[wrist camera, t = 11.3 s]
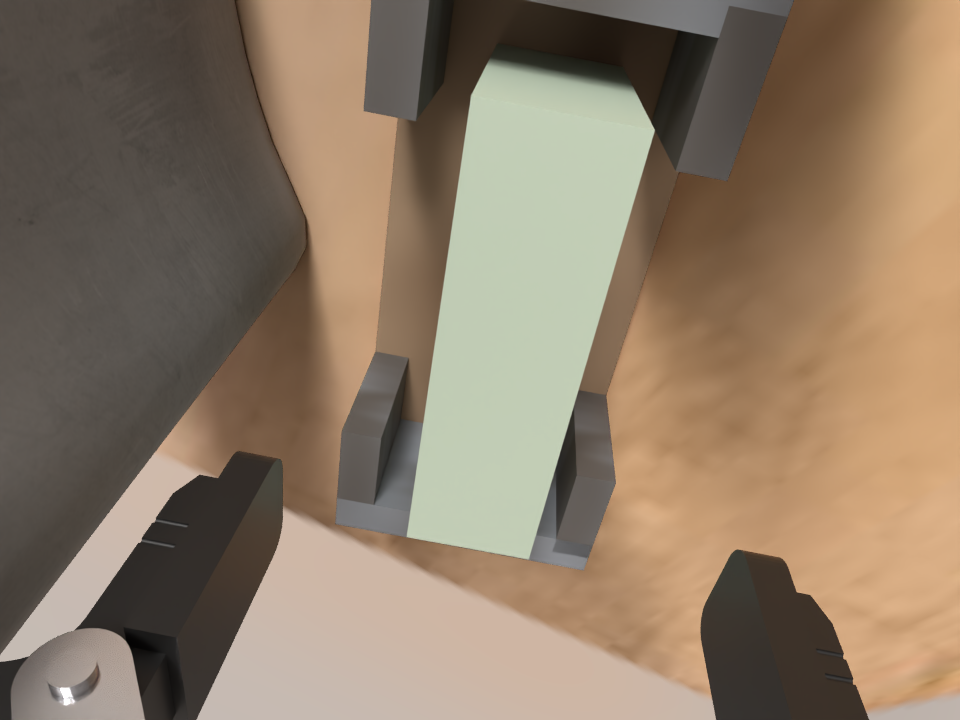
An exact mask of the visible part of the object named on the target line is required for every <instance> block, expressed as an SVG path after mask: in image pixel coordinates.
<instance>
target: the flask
mask: <svg viewBox="0 0 960 720" xmlns="http://www.w3.org/2000/svg"><path fill="white" fill-rule="evenodd" d="M305 248H306V231H305V216H304V214H303V212H302V209H301V207H300V205H299V202H298V200H297V198H296V195H295V193H294V191H293V188H292V186H291V184H290V181H289V179H288V177H287V174H286V172H285V170H284V168H283V165H282V163H281V161H280V159H279V156H278V154H277V152H276V150H275V147H274V145H273V143H272V140H271V137H270V134H269V132H268V129H267V126H266V123H265V120H264V117H263V114H262V111H261V108H260V105H259V102H258V99H257V95H256V91H255V88H254V84H253V80H252V77H251V73H250V69H249V66H248V62H247V58H246V55H245V50H244V45H243V40H242V35H241V31H240V26H239V21H238V16H237V11H236V6H235V0H0V654H1V653H2V652H3V650H4V649H5V648H6V646H7V645H8V644H9V642H10V641H11V640H12V638H13V637H14V636H15V635H16V633H17V632H18V631H19V629H20V628H21V627H22V625H23V624H24V622H25V621H26V620H27V619H28V618H29V616H30V615H31V614H32V612H33V611H34V610H35V608H36V607H37V606H38V604H39V603H40V602H41V601H42V599H43V598H44V597H45V595H46V594H47V593H48V591H49V590H50V589H51V587H52V586H53V585H54V583H55V582H56V581H57V580H58V578H59V577H60V576H61V574H62V573H63V572H64V570H65V569H66V568H67V566H68V565H69V564H70V563H71V561H72V560H73V559H74V557H75V556H76V554H77V553H78V552H79V551H80V550H81V548H82V547H83V546H84V544H85V543H86V542H87V540H88V539H89V538H90V536H91V535H92V534H93V533H94V531H95V530H96V529H97V527H98V526H99V525H100V523H101V522H102V521H103V519H104V518H105V517H106V515H107V514H108V513H109V512H110V510H111V509H112V508H113V506H114V505H115V504H116V502H117V501H118V500H119V498H120V497H121V496H122V494H123V493H124V492H125V490H126V489H127V488H128V487H129V485H130V484H131V483H132V481H133V480H134V479H135V478H136V476H137V475H138V474H139V472H140V471H141V470H142V468H143V467H144V466H145V464H146V463H147V462H148V460H149V459H150V458H151V457H152V455H153V454H154V453H155V451H156V450H157V449H158V447H159V446H160V445H161V444H162V442H163V441H164V440H165V438H166V437H167V436H168V434H169V433H170V432H171V430H172V429H173V428H174V427H175V425H176V424H177V423H178V421H179V420H180V419H181V417H182V416H183V415H184V413H185V412H186V411H187V410H188V408H189V407H190V406H191V404H192V403H193V402H194V400H195V399H196V398H197V396H198V395H199V394H200V393H201V391H202V390H203V389H204V387H205V386H206V385H207V383H208V382H209V381H210V379H211V378H212V377H213V376H214V374H215V373H216V372H217V370H218V369H219V368H220V366H221V365H222V364H223V362H224V361H225V360H226V359H227V357H228V356H229V355H230V353H231V352H232V351H233V349H234V348H235V347H236V345H237V344H238V343H239V341H240V340H241V339H242V338H243V336H244V335H245V334H246V332H247V331H248V330H249V328H250V327H251V326H252V324H253V323H254V322H255V321H256V319H257V318H258V317H259V315H260V314H261V313H262V311H263V310H264V309H265V307H266V306H267V305H268V304H269V302H270V301H271V300H272V298H273V297H274V296H275V294H276V293H277V292H278V290H279V289H280V288H281V287H282V285H283V284H284V283H285V281H286V280H287V279H288V277H289V276H290V275H291V273H292V272H293V271H294V270H295V268H296V266H297V264H298V262H299V260H300V258H301V256H302V254H303V252H304V250H305Z"/></svg>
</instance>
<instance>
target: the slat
mask: <svg viewBox="0 0 960 720" xmlns="http://www.w3.org/2000/svg"><path fill="white" fill-rule="evenodd" d="M654 132H655V130H654V128H653V126H652V124H651V122H650V120H649V118H648V116H647V114H646V112H645V110H644V108H643V106H642V104H641V102H640V100H639V98H638V96H637V94H636V92H635V90H634V88H633V86H632V84H631V82H630V80H629V78H628V76H627V74H626V72H625V70H624V68H623V67H620V66H615V65H609V64H604V63H599V62H594V61H588V60H583V59H578V58H573V57H567V56H562V55H557V54H551V53H546V52H541V51H536V50H530V49H525V48H520V47H515V46H509V45H504V44H499V43H497V45H496V47H495V49H494V51H493V53H492V55H491V57H490V59H489V61H488V63H487V65H486V67H485V69H484V71H483V73H482V75H481V77H480V79H479V81H478V83H477V85H476V87H475V89H474V91H473V93H472V95H471V100H470V107H469V114H468V120H467V127H466V134H465V141H464V148H463V155H462V162H461V168H460V175H459V182H458V189H457V196H456V203H455V209H454V216H453V223H452V230H451V237H450V244H449V251H448V257H447V264H446V271H445V278H444V285H443V292H442V298H441V305H440V312H439V319H438V326H437V333H436V340H435V346H434V353H433V360H432V367H431V374H430V381H429V387H428V394H427V401H426V408H425V415H424V422H423V429H422V435H421V442H420V449H419V456H418V463H417V470H416V476H415V483H414V490H413V497H412V504H411V511H410V518H409V524H408V531H407V537H409V538H414V539H420V540H425V541H431V542H436V543H442V544H447V545H453V546H458V547H463V548H469V549H474V550H480V551H485V552H491V553H496V554H502V555H507V556H512V557H518V558H523V559H529V557H530V553H531V550H532V547H533V543H534V540H535V536H536V533H537V530H538V526H539V523H540V519H541V516H542V513H543V509H544V506H545V502H546V499H547V496H548V492H549V489H550V485H551V482H552V479H553V475H554V472H555V468H556V465H557V462H558V458H559V455H560V451H561V448H562V445H563V441H564V438H565V434H566V431H567V428H568V424H569V421H570V417H571V414H572V411H573V407H574V404H575V400H576V397H577V394H578V390H579V387H580V383H581V380H582V377H583V373H584V370H585V366H586V363H587V360H588V356H589V353H590V349H591V346H592V343H593V339H594V336H595V332H596V329H597V326H598V322H599V319H600V315H601V312H602V308H603V305H604V302H605V298H606V295H607V291H608V288H609V285H610V281H611V278H612V274H613V271H614V268H615V264H616V261H617V257H618V254H619V251H620V247H621V244H622V240H623V237H624V234H625V230H626V227H627V223H628V220H629V217H630V213H631V210H632V206H633V203H634V200H635V196H636V193H637V189H638V186H639V183H640V179H641V176H642V172H643V169H644V166H645V162H646V159H647V155H648V152H649V149H650V145H651V142H652V138H653V135H654Z"/></svg>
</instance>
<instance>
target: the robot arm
mask: <svg viewBox="0 0 960 720" xmlns="http://www.w3.org/2000/svg"><path fill="white" fill-rule="evenodd" d="M282 520H283V467H282V461H281V460H280V459H277V458H272V457H266V456H261V455H256V454H251V453H246V452H241V451H238V452H236V453H235V454H234V455H233V456H232V458H231V459H230V461H229V462H228V464H227V465H226V467H225V468H224V470H223V472H222V473H221V475H220V476H219V478H214V477H209V476H203V475H199V476H197V477H196V478H195V479H193V480H192V481H190V482H189V483H188V484H186V485H185V486H183V487H182V488H180V489H179V490H177V491H176V492H175V493H173V494H172V496H171V497H170V499H169V500H168V502H167V503H166V504H165V506H164V507H163V509H162V510H161V512H160V513H159V514H158V516H157V517H156V521H155V523H152V524H151V526H150V527H149V529H148V530H147V531H146V533H145V534H144V536H143V537H142V541H141V543H138V544H137V546H136V547H135V548H134V550H133V552H132V553H131V554H130V556H129V557H128V558H127V560H126V561H125V563H124V564H123V566H122V567H121V569H120V570H119V571H118V573H117V574H116V576H115V577H114V578H113V580H112V581H111V583H110V584H109V586H108V587H107V588H106V590H105V591H104V593H103V594H102V596H101V597H100V598H99V600H98V601H97V603H96V604H95V605H94V607H93V608H92V610H91V611H90V613H89V614H88V615H87V617H86V618H85V619H84V621H83V622H82V623H81V624H80V625H79V626H78V627H77V628H76V629H75V630H74V631H71V632H68V633H65V634H62V635H60V636H57V637H56V638H54V639H52V640H50V641H48V642H47V643H45V644H44V645H42V646H41V647H39V648H38V649H37V650H36V651H35V652H33V653H32V654H31V655H30V656H29V657H25V658H22V659H18V660H12V661H6V662H0V720H196V719H197V717H198V715H199V713H200V711H201V709H202V706H203V704H204V702H205V700H206V698H207V696H208V694H209V692H210V689H211V687H212V685H213V683H214V681H215V679H216V676H217V675H218V673H219V670H220V668H221V666H222V664H223V662H224V660H225V658H226V656H227V653H228V651H229V649H230V647H231V645H232V643H233V641H234V639H235V636H236V634H237V632H238V630H239V628H240V626H241V624H242V622H243V619H244V617H245V615H246V613H247V611H248V609H249V607H250V604H251V603H252V600H253V598H254V596H255V594H256V592H257V590H258V588H259V585H260V583H261V581H262V579H263V577H264V575H265V573H266V570H267V569H268V566H269V564H270V562H271V560H272V558H273V555H274V553H275V551H276V548H277V545H278V542H279V538H280V534H281V529H282ZM701 641H702V647H703V652H704V657H705V663H706V668H707V673H708V678H709V684H710V689H711V694H712V700H713V705H714V710H715V716H716V720H869V719H868V716H867V713H866V711H865V708H864V705H863V703H862V700H861V698H860V695H859V692H858V690H857V687H856V685H853V677H852V674H851V671H850V669H849V666H848V664H847V661H846V660H844V659H843V654H844V653H843V650H842V648H841V645H840V643H839V640H838V637H837V635H836V632H835V629H834V627H833V624H832V623H831V621H830V620H829V619H828V617H827V616H826V615H825V614H824V612H823V611H822V610H821V608H820V607H819V606H818V605H817V603H816V602H815V601H814V599H813V598H812V597H811V596H810V595H807V594H802V593H797V592H796V589H795V587H794V584H793V581H792V578H791V575H790V572H789V569H788V567H787V564H786V563H785V561H784V560H783V559H781V558H779V557H774V556H768V555H763V554H758V553H753V552H748V551H743V550H735V551H734V552H733V553H732V554H731V556H730V557H729V559H728V561H727V563H726V565H725V567H724V569H723V571H722V573H721V574H720V576H719V578H718V580H717V582H716V584H715V586H714V588H713V590H712V592H711V594H710V595H709V597H708V599H707V601H706V603H705V606H704V609H703V613H702V618H701Z"/></svg>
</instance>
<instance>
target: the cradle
mask: <svg viewBox="0 0 960 720" xmlns="http://www.w3.org/2000/svg"><path fill="white" fill-rule="evenodd" d="M793 2H794V0H371V13H370V28H369V42H368V57H367V71H366V86H365V101H364V111H366V112H371V113H376V114H382V115H387V116H392V117H397V118H398V122H397V132H396V143H395V153H394V164H393V174H392V185H391V195H390V206H389V216H388V227H387V237H386V248H385V258H384V268H383V279H382V289H381V300H380V310H379V321H378V331H377V342H376V352H375V354H374V356H373V359H372V361H371V364H370V366H369V368H368V371H367V373H366V375H365V378H364V380H363V382H362V385H361V387H360V389H359V392H358V394H357V397H356V399H355V401H354V404H353V406H352V408H351V411H350V413H349V415H348V418H347V420H346V422H345V425H344V427H343V430H342V435H341V450H340V464H339V479H338V493H337V508H336V523H335V524H338V525H343V526H348V527H354V528H359V529H365V530H370V531H375V532H381V533H386V534H391V535H397V536H402V537H407V531H408V524H409V518H410V511H411V504H412V497H413V490H414V483H415V476H416V470H417V463H418V456H419V449H420V442H421V435H422V429H423V422H424V415H425V408H426V401H427V394H428V387H429V381H430V374H431V367H432V360H433V353H434V346H435V340H436V333H437V326H438V319H439V312H440V305H441V298H442V292H443V285H444V278H445V271H446V264H447V257H448V251H449V244H450V237H451V230H452V223H453V216H454V209H455V203H456V196H457V189H458V182H459V175H460V168H461V162H462V155H463V148H464V141H465V134H466V127H467V120H468V114H469V107H470V100H471V95H472V93H473V91H474V89H475V87H476V85H477V83H478V81H479V79H480V77H481V75H482V73H483V71H484V69H485V67H486V65H487V63H488V61H489V59H490V57H491V55H492V53H493V51H494V49H495V47H496V45H497V43H499V44H504V45H509V46H515V47H520V48H525V49H530V50H536V51H541V52H546V53H551V54H557V55H562V56H567V57H573V58H578V59H583V60H588V61H594V62H599V63H604V64H609V65H615V66H620V67H623V68H624V70H625V72H626V74H627V76H628V78H629V80H630V82H631V84H632V86H633V88H634V90H635V92H636V94H637V96H638V98H639V100H640V102H641V104H642V106H643V108H644V110H645V112H646V114H647V116H648V118H649V120H650V122H651V124H652V126H653V128H654V130H655V132H654V135H653V138H652V142H651V145H650V149H649V152H648V155H647V159H646V162H645V166H644V169H643V172H642V176H641V179H640V183H639V186H638V189H637V193H636V196H635V200H634V203H633V206H632V210H631V213H630V217H629V220H628V223H627V227H626V230H625V234H624V237H623V240H622V244H621V247H620V251H619V254H618V257H617V261H616V264H615V268H614V271H613V274H612V278H611V281H610V285H609V288H608V291H607V295H606V298H605V302H604V305H603V308H602V312H601V315H600V319H599V322H598V326H597V329H596V332H595V336H594V339H593V343H592V346H591V349H590V353H589V356H588V360H587V363H586V366H585V370H584V373H583V377H582V380H581V383H580V387H579V390H578V394H577V397H576V400H575V404H574V407H573V411H572V414H571V417H570V421H569V424H568V428H567V431H566V434H565V438H564V441H563V445H562V448H561V451H560V455H559V458H558V462H557V465H556V468H555V472H554V475H553V479H552V482H551V485H550V489H549V492H548V496H547V499H546V502H545V506H544V509H543V513H542V516H541V519H540V523H539V526H538V530H537V533H536V536H535V540H534V543H533V547H532V550H531V553H530V557H529V559H526V560H531V561H536V562H542V563H547V564H552V565H558V566H563V567H568V568H574V569H579V570H584V568H585V565H586V562H587V560H588V557H589V554H590V552H591V549H592V546H593V543H594V541H595V538H596V535H597V533H598V530H599V527H600V524H601V522H602V519H603V516H604V514H605V511H606V508H607V505H608V503H609V500H610V497H611V495H612V492H613V489H614V487H615V484H616V479H615V470H614V461H613V452H612V443H611V434H610V425H609V417H608V408H607V399H606V394H607V391H608V388H609V385H610V382H611V379H612V376H613V373H614V370H615V367H616V363H617V360H618V357H619V354H620V351H621V348H622V345H623V342H624V339H625V336H626V333H627V330H628V327H629V324H630V321H631V318H632V315H633V312H634V309H635V305H636V302H637V299H638V296H639V293H640V290H641V287H642V284H643V281H644V278H645V275H646V272H647V269H648V266H649V263H650V260H651V257H652V254H653V250H654V247H655V244H656V241H657V238H658V235H659V232H660V229H661V226H662V223H663V220H664V217H665V214H666V211H667V208H668V205H669V202H670V199H671V196H672V192H673V189H674V186H675V183H676V180H677V177H678V174H679V172H683V173H688V174H693V175H698V176H703V177H709V178H714V179H719V180H724V181H727V180H728V178H729V175H730V172H731V170H732V167H733V164H734V161H735V159H736V156H737V153H738V151H739V148H740V145H741V142H742V140H743V137H744V134H745V132H746V129H747V126H748V124H749V121H750V118H751V115H752V113H753V110H754V107H755V105H756V102H757V99H758V96H759V94H760V91H761V88H762V86H763V83H764V80H765V77H766V75H767V72H768V69H769V67H770V64H771V61H772V58H773V56H774V53H775V50H776V48H777V45H778V42H779V40H780V37H781V34H782V31H783V29H784V26H785V23H786V21H787V18H788V15H789V12H790V10H791V7H792V4H793ZM407 538H409V537H407ZM413 539H414V538H413ZM418 540H420V539H418ZM424 541H425V540H424ZM429 542H431V541H429ZM434 543H436V542H434ZM440 544H442V543H440ZM445 545H447V544H445ZM450 546H453V545H450ZM456 547H458V546H456ZM461 548H463V547H461ZM466 549H469V548H466ZM472 550H474V549H472ZM477 551H480V550H477ZM483 552H485V551H483ZM488 553H491V552H488ZM493 554H496V553H493ZM499 555H502V554H499ZM504 556H507V555H504ZM509 557H512V556H509ZM515 558H518V557H515ZM520 559H523V558H520Z"/></svg>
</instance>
